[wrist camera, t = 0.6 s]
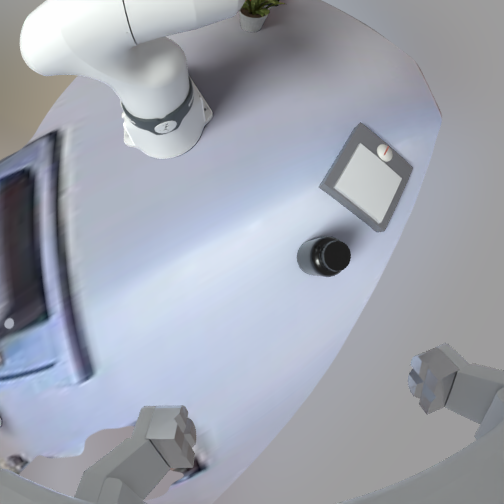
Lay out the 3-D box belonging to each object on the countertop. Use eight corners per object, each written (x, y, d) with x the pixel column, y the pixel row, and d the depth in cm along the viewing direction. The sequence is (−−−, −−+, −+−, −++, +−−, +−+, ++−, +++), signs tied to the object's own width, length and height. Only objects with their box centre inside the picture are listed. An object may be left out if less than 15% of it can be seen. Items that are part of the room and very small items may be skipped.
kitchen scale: (318, 187, 55) (325, 182, 51) (354, 127, 56) (362, 120, 52) (376, 232, 56) (386, 230, 52) (405, 170, 58) (415, 166, 54)
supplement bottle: (334, 261, 55) (364, 262, 43) (308, 281, 54) (332, 287, 42) (316, 232, 54) (342, 226, 43) (289, 252, 54) (308, 250, 42)
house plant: (292, 38, 55) (310, -5, 39) (245, 52, 54) (254, 4, 37) (263, 9, 55) (273, -33, 38) (218, 20, 53) (220, -25, 37)
